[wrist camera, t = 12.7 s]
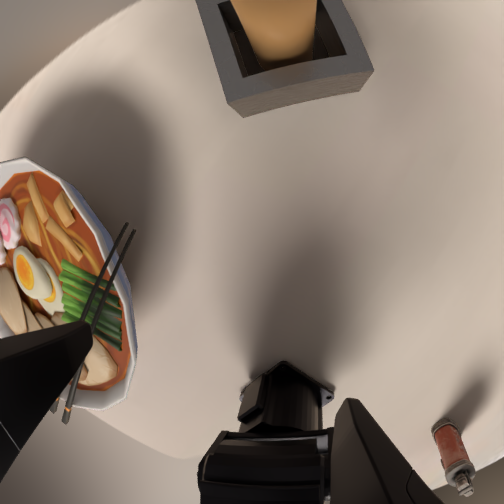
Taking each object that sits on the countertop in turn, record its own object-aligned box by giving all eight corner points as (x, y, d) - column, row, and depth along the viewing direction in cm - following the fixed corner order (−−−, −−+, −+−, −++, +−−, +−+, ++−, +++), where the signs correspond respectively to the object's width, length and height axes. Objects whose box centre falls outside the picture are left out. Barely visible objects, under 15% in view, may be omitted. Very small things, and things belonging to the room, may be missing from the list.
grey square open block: (320, 1, 14) (322, -32, 10) (359, 91, 16) (374, 70, 12) (214, 26, 16) (195, -1, 12) (243, 117, 18) (227, 103, 14)
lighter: (426, 429, 23) (445, 494, 14) (450, 413, 22) (475, 477, 13) (442, 449, 24) (458, 504, 14) (463, 436, 23) (483, 489, 13)
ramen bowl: (60, 104, 20) (-4, 96, 12) (241, 250, 21) (207, 297, 13) (7, 281, 28) (-35, 303, 20) (123, 401, 29) (90, 445, 21)
